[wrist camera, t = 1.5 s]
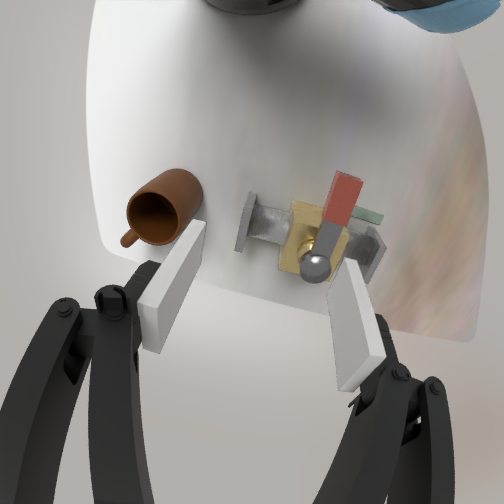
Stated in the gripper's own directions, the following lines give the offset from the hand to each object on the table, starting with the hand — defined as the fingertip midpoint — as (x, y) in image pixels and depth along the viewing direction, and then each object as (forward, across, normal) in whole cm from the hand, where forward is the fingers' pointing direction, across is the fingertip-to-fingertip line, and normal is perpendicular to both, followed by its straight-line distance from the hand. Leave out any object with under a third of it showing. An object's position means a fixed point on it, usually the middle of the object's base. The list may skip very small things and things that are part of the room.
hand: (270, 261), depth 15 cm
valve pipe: (+23, +6, -8) cm, 25 cm away
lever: (+14, +7, -3) cm, 16 cm away
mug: (+23, -14, -9) cm, 29 cm away
